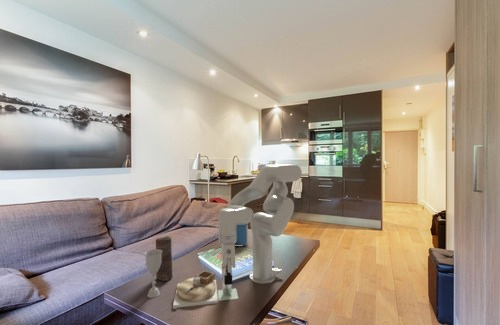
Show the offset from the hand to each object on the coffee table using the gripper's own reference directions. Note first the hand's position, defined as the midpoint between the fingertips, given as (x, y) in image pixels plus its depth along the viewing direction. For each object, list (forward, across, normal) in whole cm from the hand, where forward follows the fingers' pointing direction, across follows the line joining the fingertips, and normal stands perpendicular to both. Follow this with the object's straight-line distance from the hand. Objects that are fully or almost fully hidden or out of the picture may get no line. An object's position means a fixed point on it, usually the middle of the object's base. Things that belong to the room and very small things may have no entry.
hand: (227, 281), depth 100 cm
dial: (+4, +3, +13) cm, 14 cm away
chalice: (+6, +7, +31) cm, 32 cm away
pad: (+6, 0, 0) cm, 6 cm away
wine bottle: (+6, +63, -13) cm, 65 cm away
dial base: (+6, +3, +13) cm, 15 cm away
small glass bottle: (+4, 0, 0) cm, 4 cm away
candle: (+6, +21, +29) cm, 36 cm away
